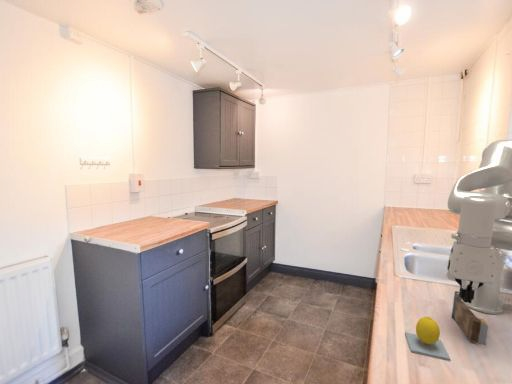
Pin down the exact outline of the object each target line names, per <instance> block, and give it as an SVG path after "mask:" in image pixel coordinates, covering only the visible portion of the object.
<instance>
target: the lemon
mask: <svg viewBox="0 0 512 384" xmlns="http://www.w3.org/2000/svg"><path fill="white" fill-rule="evenodd" d="M415 334H416V335H417V336H418V338H419V339H420V340H421V341H422V342H424V343H425V344H426V345H427V344H434V343H436V342H437V341H438V339H440V335H441V330H440V326H439V324H438V322H437V321H436V320H435V319H434V318H432V317H431V316H423V317H420V318H419V319H418V321H417V322H416V325H415Z"/></svg>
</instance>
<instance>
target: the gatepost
mask: <svg viewBox="0 0 512 384" xmlns="http://www.w3.org/2000/svg"><path fill="white" fill-rule="evenodd" d="M459 293H460V291H458V290H455V291H454V296H453V302H452V308H451V309H452V310H451V317H450V318H451V319H452V320H454V321H456V319H455V318H454V316H455V308H456V300H457V301H461V300H462V298H460V296H459Z"/></svg>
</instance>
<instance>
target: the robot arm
mask: <svg viewBox="0 0 512 384" xmlns="http://www.w3.org/2000/svg"><path fill="white" fill-rule="evenodd" d="M481 189H484V192H481V191H477V190H481ZM447 208H448V210H449V211H450V212H451V214H454V215H459V221H458V226H457V227H458V228H457V229H458V230H457V231H456V232H455V233H451V236H450V237H451V239H454V240H455V241H453V243H452V245H451V250H450V252H449V255H448V259H447V260H448V261H447V267H446V268H447V272H446V274H445V276H446V279H447V280H451V281H454V282H455V283H457V284H458V285H459V292H460V293H459V296H460V298H462V300H461V301H463V302H464V303H465V305H466V306H467V307H468V308H469V309H472V310H474V311H477V312H481V313H484V314H491V315H499V314H502V313H503V312H504V306H507V307H512V300H508V299H507V298H506V297H500V292H501V291H500V290H501V286H502V281H503V280H502V279H503V273H504V266H505V265H504V264H505V261H504V258H503V256H502V255H501V254H500V252H499V251H498V250H504V251H510V252H512V139H500V140H496V141H493V142H491V143H489V145H488V146H486V147H485V148H484V149H483V151H482V153H481V161H480V164H479V167H478V168H476V169H474V170H472V171H470V172H468V173H466V174H464V175H463V176H460V178H458V179H457V180H456V181H455V183H454V184H453V187H452V189H451V191H450V194H449V195H448V199H447Z"/></svg>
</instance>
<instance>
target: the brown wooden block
mask: <svg viewBox="0 0 512 384" xmlns="http://www.w3.org/2000/svg"><path fill="white" fill-rule="evenodd" d="M454 318H455V319H456V320H455V321H456V322H457V324H458V325H459V326H460V327H461V329H462V331H464V333H465V335H466V337H467V338H468V340H469V341H471V342H475V343H476V342H478V341H479V335H480V328H481V321H480V320H479V318H478V317H477V316H476V315H475V313H473V311H471V308H469V307H467V306H466V305H465V303H464V302H463V301H457V300H456V308H455V316H454Z"/></svg>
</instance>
